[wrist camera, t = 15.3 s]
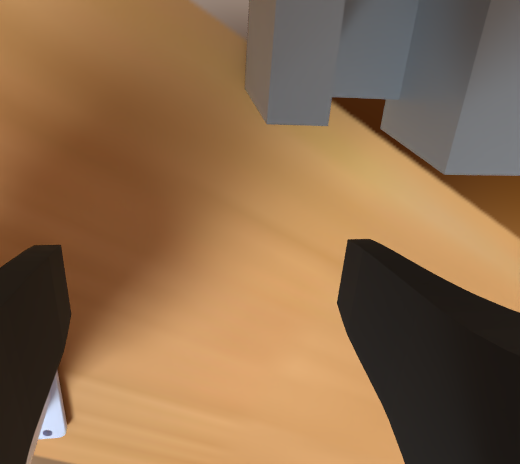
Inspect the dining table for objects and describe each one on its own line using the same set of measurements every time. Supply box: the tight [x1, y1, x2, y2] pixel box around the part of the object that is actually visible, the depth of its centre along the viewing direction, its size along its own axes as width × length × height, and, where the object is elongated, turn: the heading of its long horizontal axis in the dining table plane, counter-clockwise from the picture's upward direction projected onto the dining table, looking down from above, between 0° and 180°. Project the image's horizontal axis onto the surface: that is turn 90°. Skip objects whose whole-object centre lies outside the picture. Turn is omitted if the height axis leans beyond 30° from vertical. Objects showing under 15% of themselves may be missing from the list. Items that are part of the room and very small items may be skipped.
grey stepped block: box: [245, 0, 520, 175], centre depth 17 cm, size 17×10×6 cm, turn 86°
